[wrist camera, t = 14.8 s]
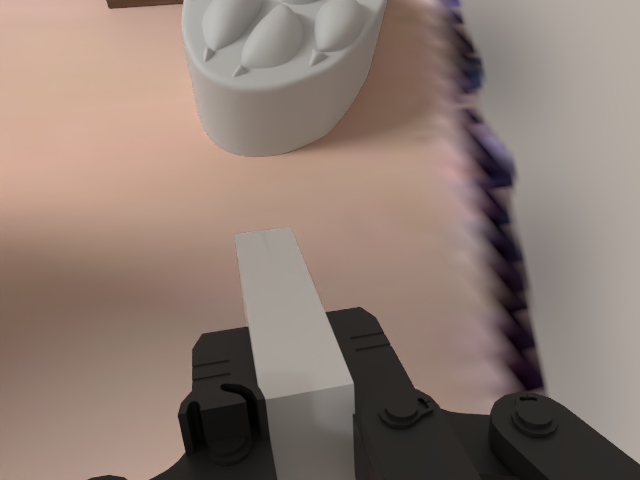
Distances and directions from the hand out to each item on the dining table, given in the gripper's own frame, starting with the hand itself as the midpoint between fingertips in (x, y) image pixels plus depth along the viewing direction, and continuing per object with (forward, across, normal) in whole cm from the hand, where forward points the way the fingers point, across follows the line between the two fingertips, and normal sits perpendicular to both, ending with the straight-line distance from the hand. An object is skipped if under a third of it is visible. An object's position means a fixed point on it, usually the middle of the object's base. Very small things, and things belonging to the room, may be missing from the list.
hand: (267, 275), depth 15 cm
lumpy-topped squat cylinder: (+26, +4, +1) cm, 26 cm away
